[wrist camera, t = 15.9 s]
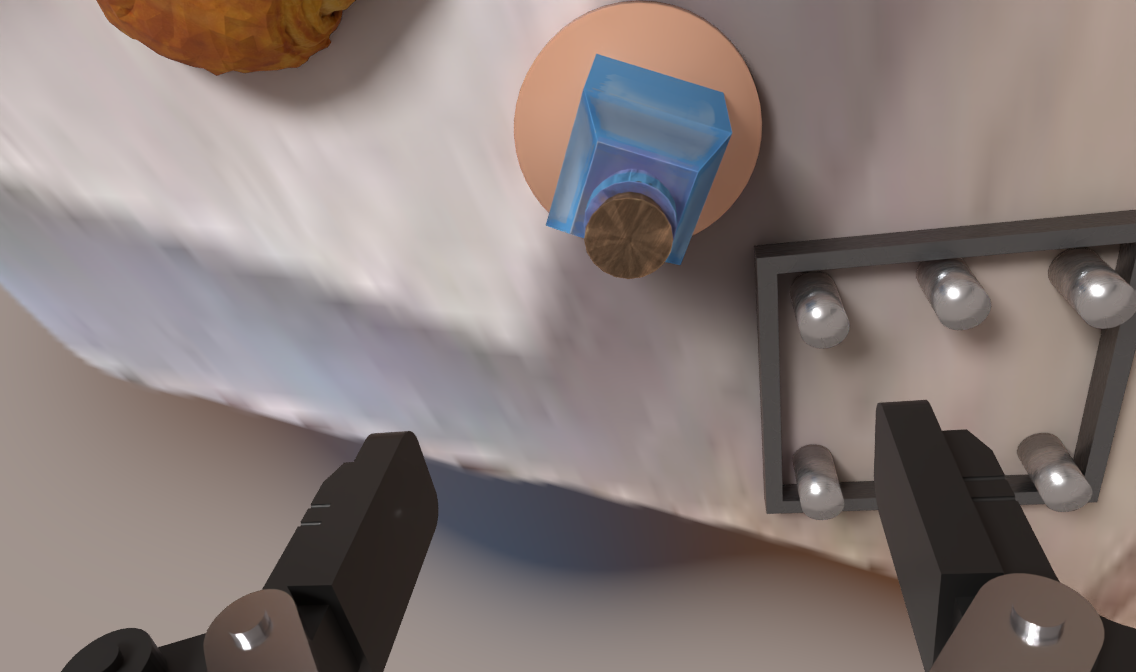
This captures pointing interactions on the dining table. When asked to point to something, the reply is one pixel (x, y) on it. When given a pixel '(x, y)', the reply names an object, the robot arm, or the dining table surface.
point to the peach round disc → (651, 43)
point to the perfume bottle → (639, 166)
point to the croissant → (229, 30)
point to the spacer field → (1098, 293)
